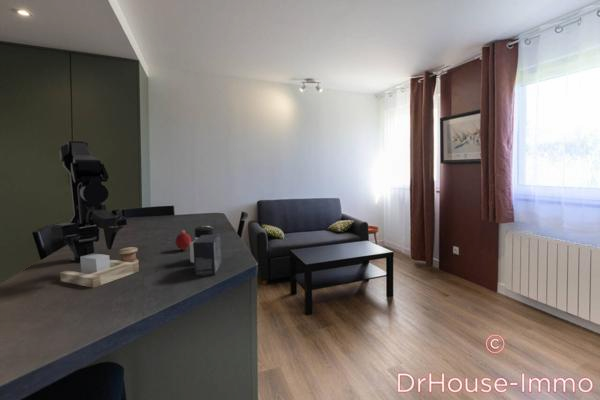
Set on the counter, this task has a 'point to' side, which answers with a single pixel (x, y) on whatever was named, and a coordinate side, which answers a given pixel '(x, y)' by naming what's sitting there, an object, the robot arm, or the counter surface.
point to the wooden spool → (129, 254)
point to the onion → (183, 240)
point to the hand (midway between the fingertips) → (94, 253)
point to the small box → (207, 255)
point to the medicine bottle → (198, 232)
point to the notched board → (101, 274)
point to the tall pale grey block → (94, 263)
